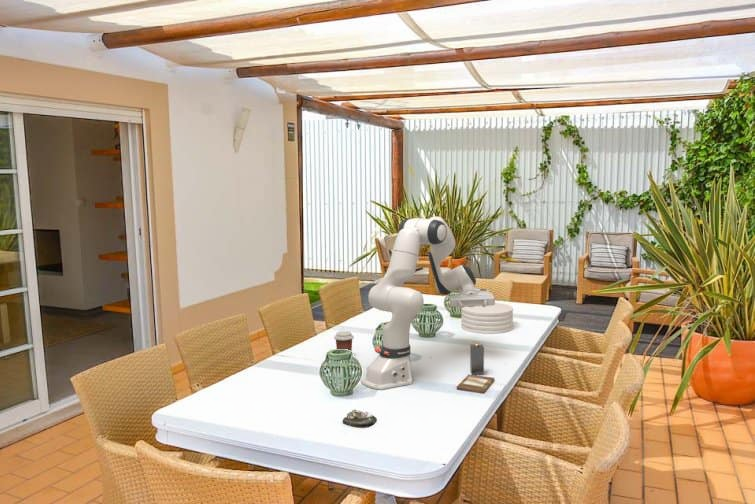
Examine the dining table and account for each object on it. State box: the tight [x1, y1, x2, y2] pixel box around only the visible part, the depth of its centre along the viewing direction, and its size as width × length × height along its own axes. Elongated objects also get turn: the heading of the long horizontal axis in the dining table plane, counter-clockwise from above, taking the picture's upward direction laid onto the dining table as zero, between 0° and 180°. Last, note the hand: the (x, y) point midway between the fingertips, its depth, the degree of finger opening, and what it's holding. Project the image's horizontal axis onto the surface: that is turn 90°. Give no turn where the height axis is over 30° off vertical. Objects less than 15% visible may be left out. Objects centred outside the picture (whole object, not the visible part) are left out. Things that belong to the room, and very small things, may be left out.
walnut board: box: [456, 373, 495, 394], centre depth 239 cm, size 16×11×1 cm
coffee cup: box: [333, 330, 355, 351], centre depth 277 cm, size 9×9×12 cm
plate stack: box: [460, 302, 514, 335], centre depth 329 cm, size 28×28×12 cm
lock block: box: [469, 342, 485, 376], centre depth 252 cm, size 5×5×13 cm
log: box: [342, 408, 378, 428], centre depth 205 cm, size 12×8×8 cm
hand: (473, 305), depth 262 cm, fingers open, 8 cm apart
